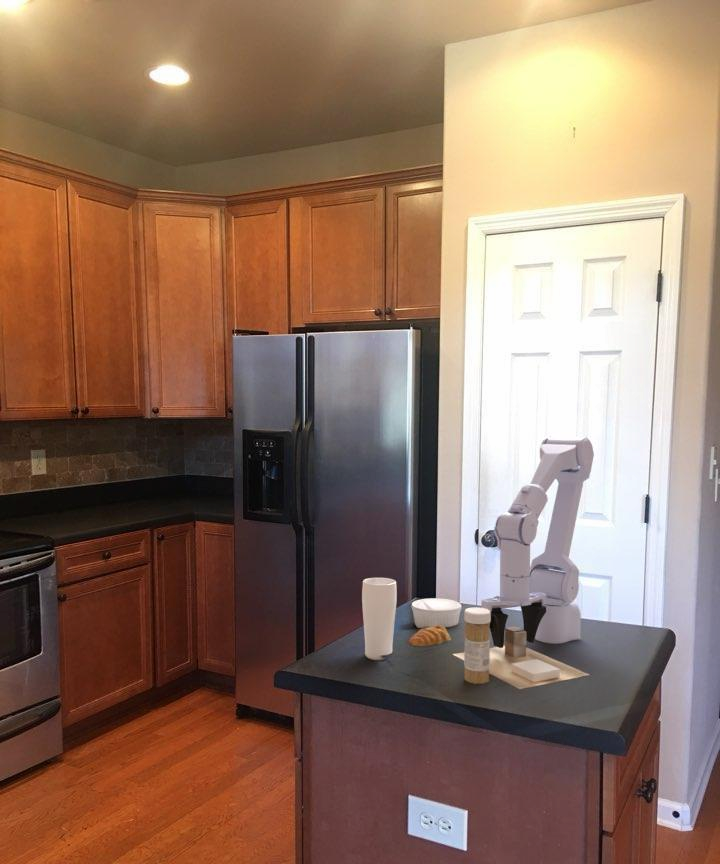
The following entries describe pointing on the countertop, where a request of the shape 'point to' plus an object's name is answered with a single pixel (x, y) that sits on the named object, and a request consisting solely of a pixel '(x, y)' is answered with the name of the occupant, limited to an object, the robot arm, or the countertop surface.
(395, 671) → the countertop surface
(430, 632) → the pastry
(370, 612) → the drinking glass
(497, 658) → the board
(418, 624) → the ramekin
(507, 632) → the tan wooden block
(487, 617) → the sprinkles bottle
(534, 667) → the tile
